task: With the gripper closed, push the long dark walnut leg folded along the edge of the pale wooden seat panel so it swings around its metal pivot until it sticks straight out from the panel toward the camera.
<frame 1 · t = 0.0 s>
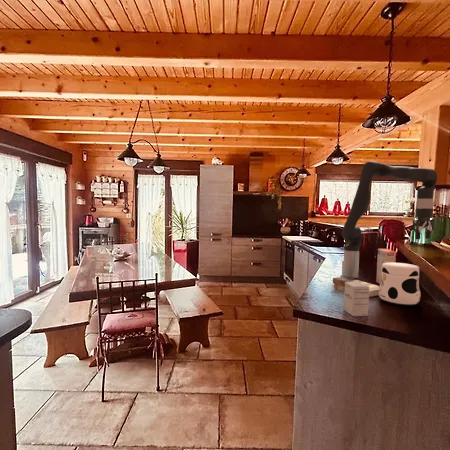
hand: (422, 239, 156), 29 cm above the worktop, tool pointing down, fingers open, 8 cm apart
supplement box: (355, 313, 129), on the worktop
walnut leg: (347, 283, 159), point 5 cm above the worktop, hinge at 0.0°
seat panel: (359, 291, 163), on the worktop
cracker box: (385, 285, 175), on the worktop
milk container: (398, 303, 143), on the worktop
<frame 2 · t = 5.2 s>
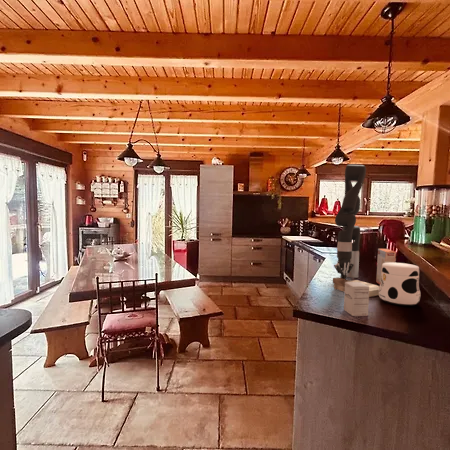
hand: (343, 280, 166), 5 cm above the worktop, tool pointing down, fingers closed
walnut leg: (347, 283, 159), point 5 cm above the worktop, hinge at 0.0°, touching gripper
everything else where it was.
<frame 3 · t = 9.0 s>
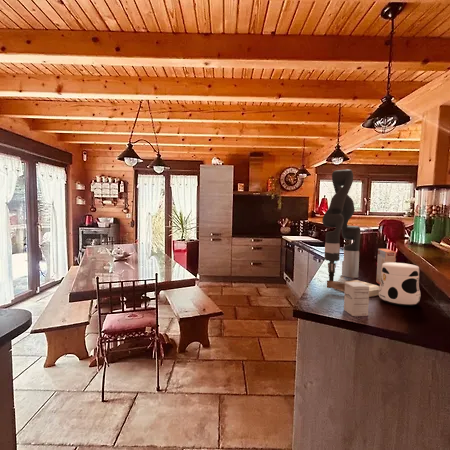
hand: (331, 283, 161), 5 cm above the worktop, tool pointing down, fingers closed
walnut leg: (343, 285, 155), point 5 cm above the worktop, hinge at 44.2°, touching gripper
everything else where it was.
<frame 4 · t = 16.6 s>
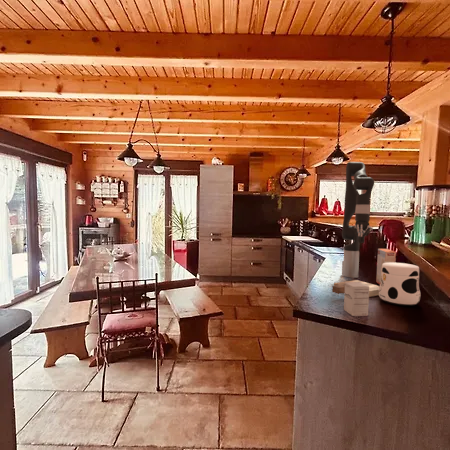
hand: (361, 242, 172), 25 cm above the worktop, tool pointing down, fingers closed
walnut leg: (347, 288, 150), point 5 cm above the worktop, hinge at 87.8°
everything else where it was.
at the end: walnut leg at +88° (first picture: +0°) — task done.
